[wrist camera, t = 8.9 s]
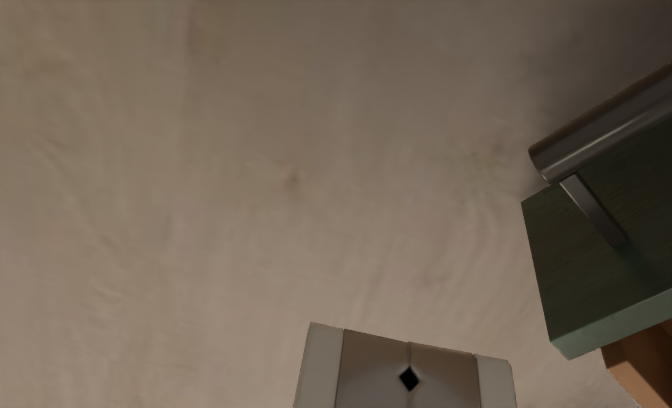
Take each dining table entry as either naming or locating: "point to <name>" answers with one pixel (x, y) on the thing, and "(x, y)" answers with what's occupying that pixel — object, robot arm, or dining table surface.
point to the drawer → (610, 236)
